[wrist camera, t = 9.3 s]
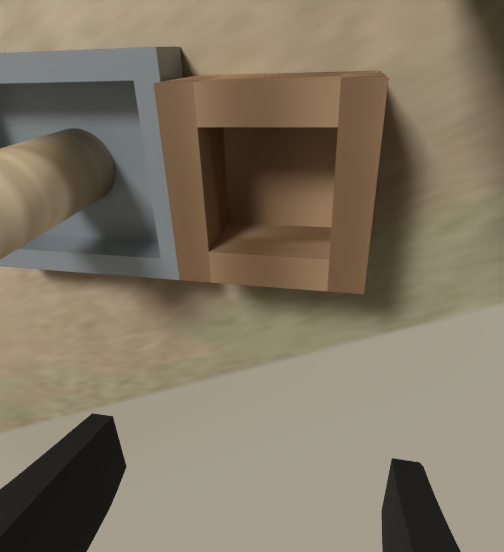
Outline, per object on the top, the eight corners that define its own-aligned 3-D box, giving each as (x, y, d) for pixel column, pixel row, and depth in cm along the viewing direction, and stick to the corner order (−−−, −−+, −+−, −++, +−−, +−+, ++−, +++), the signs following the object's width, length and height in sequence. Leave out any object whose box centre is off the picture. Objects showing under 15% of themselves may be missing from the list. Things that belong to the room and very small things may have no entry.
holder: (380, 70, 15) (388, 78, 11) (361, 247, 18) (363, 294, 15) (195, 75, 16) (153, 83, 13) (209, 239, 20) (179, 280, 16)
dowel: (107, 128, 18) (-20, 171, 12) (121, 201, 19) (15, 272, 13) (40, 128, 18) (-112, 168, 12) (59, 198, 20) (-69, 265, 14)
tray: (180, 47, 16) (155, 46, 14) (201, 257, 20) (185, 280, 18) (-40, 55, 18) (-88, 56, 16) (22, 246, 22) (-10, 265, 20)
